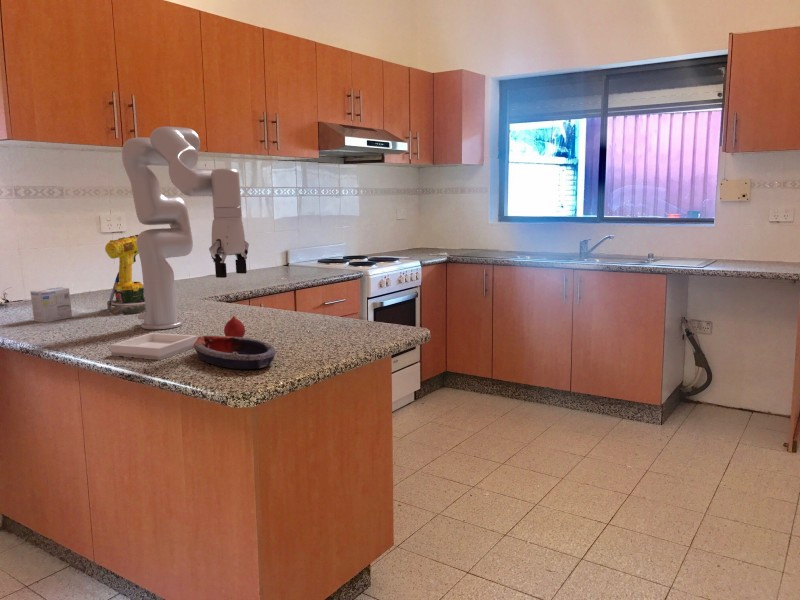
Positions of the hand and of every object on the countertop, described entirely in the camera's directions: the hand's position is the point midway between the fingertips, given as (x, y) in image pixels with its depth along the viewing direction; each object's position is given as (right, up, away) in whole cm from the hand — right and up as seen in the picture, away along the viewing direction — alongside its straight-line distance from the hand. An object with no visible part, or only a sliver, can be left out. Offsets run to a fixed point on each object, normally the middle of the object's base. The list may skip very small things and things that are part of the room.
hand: (231, 275), depth 184 cm
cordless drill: (-52, -11, +63) cm, 83 cm away
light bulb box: (-75, -14, +46) cm, 89 cm away
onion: (0, -20, +3) cm, 20 cm away
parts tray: (-20, -21, -4) cm, 29 cm away
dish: (+5, -23, -16) cm, 28 cm away
